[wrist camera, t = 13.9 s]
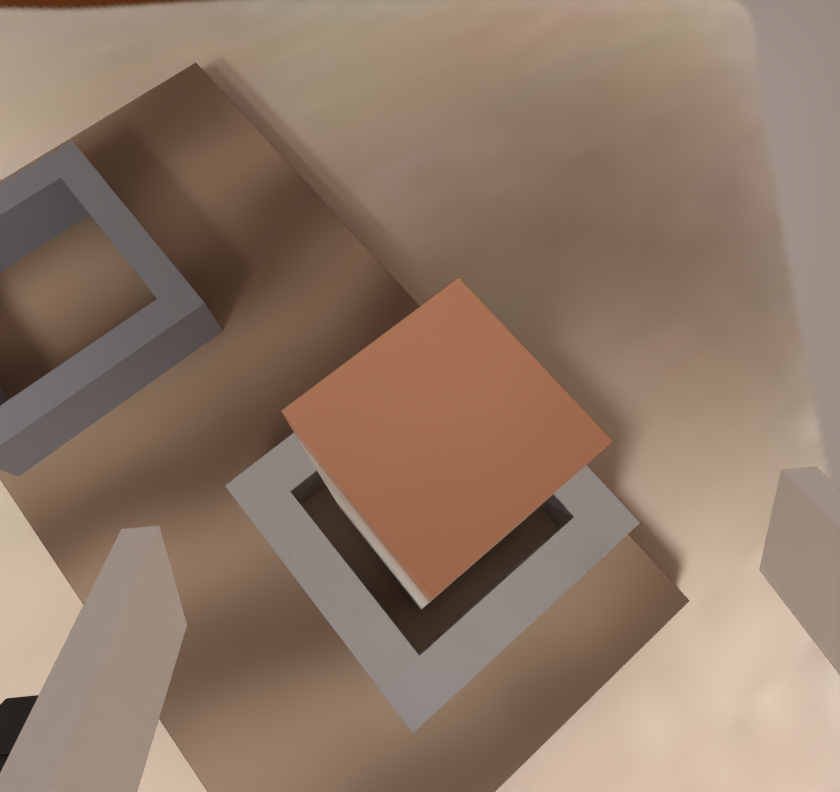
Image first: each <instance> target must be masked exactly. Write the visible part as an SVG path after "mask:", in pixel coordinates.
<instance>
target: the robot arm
mask: <svg viewBox="0 0 840 792" xmlns="http://www.w3.org/2000/svg"><path fill="white" fill-rule="evenodd" d="M759 570H760V572H761V573H762V574H763V576H764V577H765V578H766V579H767V581H768V582H769V583H770V585H771V586H772V587H773V589H774V590H775V591H776V593H777V594H778V595H779V596H780V598H781V599H782V600H783V602H784V603H785V604H786V606H787V607H788V608H789V609H790V611H791V612H792V613H793V615H794V616H795V617H796V619H797V620H798V621H799V622H800V624H801V625H802V626H803V628H804V629H805V630H806V632H807V633H808V634H809V636H810V637H811V638H812V639H813V641H814V642H815V643H816V645H817V646H818V647H819V649H820V650H821V651H822V652H823V654H824V655H825V656H826V658H827V659H828V660H829V662H830V663H831V664H832V665H833V667H834V668H835V669H836V671H837V672H838V673H839V675H840V488H839V487H837V486H836V485H835V484H834V483H833V482H832V481H831V480H830V479H829V478H828V477H827V476H825V475H824V474H823V473H822V472H821V471H820V470H819V469H818V468H817V467H809V468H798V469H787V470H781V474H780V478H779V483H778V487H777V492H776V496H775V501H774V505H773V510H772V514H771V519H770V523H769V528H768V533H767V537H766V542H765V546H764V551H763V555H762V560H761V564H760V569H759ZM186 627H187V623H186V619H185V616H184V612H183V609H182V605H181V602H180V598H179V594H178V591H177V587H176V584H175V580H174V576H173V573H172V569H171V566H170V562H169V558H168V555H167V551H166V548H165V544H164V540H163V537H162V533H161V530H160V526H149V527H138V528H127V529H121V531H120V533H119V535H118V537H117V539H116V541H115V543H114V545H113V547H112V549H111V551H110V553H109V555H108V557H107V559H106V561H105V563H104V565H103V567H102V569H101V571H100V573H99V575H98V577H97V579H96V581H95V583H94V585H93V587H92V589H91V591H90V593H89V595H88V597H87V599H86V601H85V603H84V605H83V607H82V609H81V611H80V613H79V615H78V617H77V619H76V621H75V623H74V626H73V628H72V630H71V632H70V634H69V636H68V638H67V640H66V642H65V644H64V646H63V648H62V650H61V652H60V654H59V656H58V658H57V660H56V662H55V664H54V666H53V668H52V670H51V672H50V674H49V676H48V678H47V680H46V682H45V684H44V686H43V688H42V690H41V692H40V694H39V695H37V696H27V697H17V698H7V699H5V700H4V701H3V702H2V703H1V705H0V792H137V790H138V787H139V784H140V780H141V777H142V774H143V770H144V767H145V764H146V760H147V757H148V754H149V750H150V747H151V744H152V740H153V737H154V734H155V730H156V727H157V723H158V720H159V717H160V713H161V710H162V707H163V703H164V700H165V697H166V693H167V690H168V687H169V683H170V680H171V677H172V673H173V670H174V667H175V663H176V660H177V657H178V653H179V650H180V647H181V643H182V640H183V637H184V633H185V630H186Z"/></svg>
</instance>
